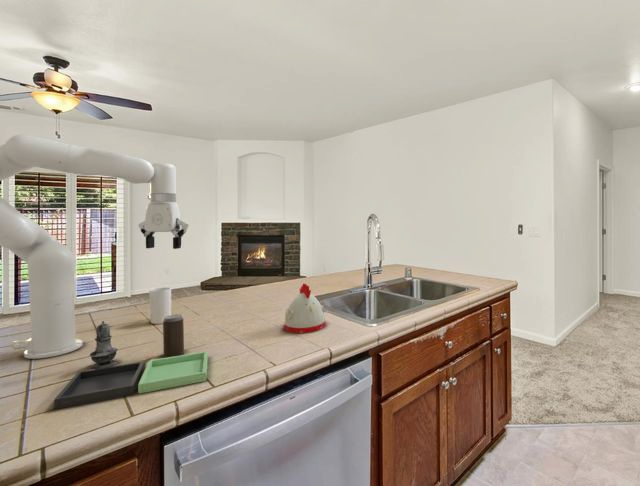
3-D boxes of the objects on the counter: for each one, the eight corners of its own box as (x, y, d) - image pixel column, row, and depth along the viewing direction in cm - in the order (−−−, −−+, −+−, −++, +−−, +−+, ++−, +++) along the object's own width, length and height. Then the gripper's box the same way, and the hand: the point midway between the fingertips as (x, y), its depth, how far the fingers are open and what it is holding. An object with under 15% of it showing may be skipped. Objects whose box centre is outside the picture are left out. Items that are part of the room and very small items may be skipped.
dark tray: (54, 409, 76) (53, 399, 76) (78, 379, 89) (78, 371, 89) (133, 394, 82) (133, 385, 82) (145, 368, 95) (145, 360, 95)
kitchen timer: (292, 335, 120) (292, 290, 119) (279, 324, 131) (278, 283, 130) (331, 327, 128) (331, 284, 127) (315, 317, 139) (315, 278, 138)
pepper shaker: (162, 359, 101) (161, 320, 101) (164, 352, 106) (164, 315, 106) (183, 355, 104) (182, 317, 103) (184, 349, 108) (184, 312, 108)
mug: (172, 321, 134) (172, 289, 134) (150, 325, 130) (150, 292, 130) (169, 315, 142) (168, 284, 142) (148, 318, 138) (147, 287, 138)
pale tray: (138, 393, 83) (138, 384, 83) (149, 368, 96) (149, 360, 96) (206, 380, 89) (205, 372, 89) (207, 358, 102) (207, 351, 102)
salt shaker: (123, 360, 101) (122, 317, 100) (107, 369, 95) (105, 324, 94) (101, 360, 101) (100, 317, 100) (83, 370, 95) (82, 324, 94)
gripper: (131, 198, 123) (131, 249, 124) (180, 199, 122) (180, 249, 123) (147, 199, 131) (147, 246, 131) (194, 199, 130) (194, 247, 130)
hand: (163, 248), depth 127 cm, fingers open, 9 cm apart
